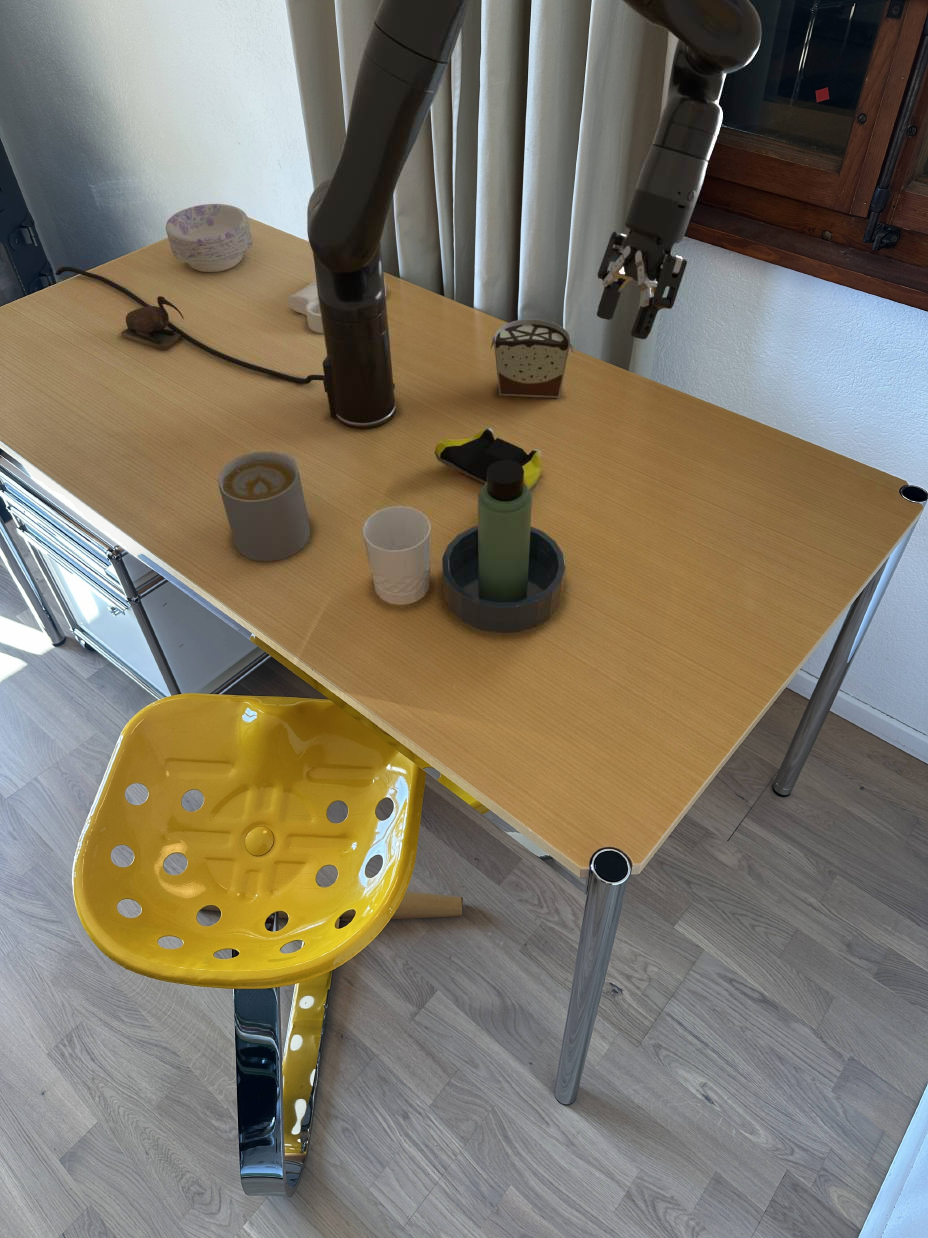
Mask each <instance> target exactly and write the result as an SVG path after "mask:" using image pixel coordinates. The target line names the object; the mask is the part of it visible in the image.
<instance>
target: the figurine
mask: <svg viewBox="0 0 928 1238" xmlns="http://www.w3.org/2000/svg"><path fill="white" fill-rule="evenodd" d="M156 301H157V305H158V306H157V305H149V306H147V307H143V306H141V307H139V308H135V309H134V310H131V311H129V312H127V314H126V315H125V324H126V327H127V328H126V329H124V330H123V331H120V334H121V336H122V337H123V338H125V339H127V340H128V339H129V340H131V341H135V342H137V343H141V344H144V345H146V346H150V347H153V348H156V349H159V350H162V351H167V350H168V349H170V348H172V347H173V346H174V345H175V344H177V343H178V342H180V341H181V340H183V337H182V336H181V334H178V333H176V332H175V331H173V330H172V329H166V327H168V326H167V325H168V323H169V322H170V318H169V317H170V316H169V313H168V311H167V310H166V308H165V306H164V305H166V306H169V307H170V308H172V309H174V310H175V311H177V313H178V314H179V315H180V317H181V318H182V320H185V317H184V316H183V314H182V312H181V311H180V310H179V308H178V307H176V305H174V304H173V303H171V302H170V301H169V300H167V299H166V298H165V297H164V296H161V295H159V296H157V298H156Z"/></svg>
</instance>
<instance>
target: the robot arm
mask: <svg viewBox="0 0 928 1238" xmlns="http://www.w3.org/2000/svg"><path fill="white" fill-rule="evenodd" d="M621 1H622V2H623V3H624V4H625V5H626V6H627V7H629V8H630V10H632V11H633V12H634V13H635V14H636V15H638V17H640V18H641V19H643V20H644V21H645V22H647V23H649V24H650V25H652V26H655V27H659V28H663V29H665V30H666V31H668V32H669V33H670V34H672V35H673V36H674V37H675V38H676V39H678V40H677V42H676V46H675V50H674V54H673V59H672V63H671V69H670V76H669V81H668V84H667V85H668V87H667V93H666V94H667V95H666V100H665V101H666V102H665V105H664V108H663V110H662V112H661V116H660V118H659V122H658V125H657V129H656V131H655V134H654V137H653V139H652V145H651V146H650V148H649V150H648V151H649V152H648V153H647V156H646V158H645V160H644V162H643V165H642V168H641V171H640V173H639V176H638V179H637V183H636V186H635V189H634V191H633V194H632V198H631V201H630V204H629V207H628V210H627V213H626V216H625V220H624V226H625V227H626V228H627V229H629V232H628V233H627V234H626V233H621V232H617V231H613V232H612V233H611V235H610V237H609V240H608V243H607V246H606V249H605V252H604V255H603V258H602V260H601V262H600V265H599V269H598V271H597V278H598V280H599V279H600V280H601V281H602V286H603V290H602V294H601V296H600V300H599V303H598V306H597V311H596V316H597V317H598V318H600V319H602V320H608V321H610V320H612V319H613V317H614V315H615V311H616V308H617V305H618V302H619V299H620V297H621V293H622V292H621V290H622V289H623V288H624V287H625V286H626V285H627V283H628V282H631V281H633V280H634V281H635V282H637V287H638V289H639V290H640V291H641V305H640V306H639V309H638V312H637V314H636V317H635V320H634V324H633V326H632V328H631V331H630V335H631V336H632V337H634V338H635V339H641V340H646V339H647V338H648V337H649V335H650V333H651V332H652V329H653V325H654V323H655V322H656V321H655V320H656V317H657V315H658V313H659V311H661V310H663V309H668V310H671V309H672V308H673V307H674V305H675V301H676V299H677V296H678V293H679V289H680V286H681V284H682V280H683V277H684V274H685V270H686V267H687V265H688V259H687V258H686V257H683V256H680V255H676V254H673V249H674V245H675V244H680V243H682V241H683V240H684V237H685V234H686V233H687V232H686V231H687V229H688V226H689V223H690V221H691V217H692V215H693V212H694V210H695V207H696V204H697V201H698V198H699V196H700V192H701V190H702V186H703V184H704V180H705V176H706V171H707V168H708V164H709V161H710V158H711V155H712V152H713V150H714V147H715V144H716V141H717V139H718V135H719V134H720V129H721V127H722V123H723V117H724V116H723V110H722V107H721V106H720V104H719V102H720V98H721V95H722V91H723V87H724V83H725V79H726V76H727V74H732V73H735V72H737V71H739V70H741V69H742V68H744V67H746V65H748V64H749V63H750V62H751V61H752V60H753V58H754V57H755V55H756V53H757V52H758V50H759V49H760V48H759V47H760V45H761V42H762V41H761V40H762V22H761V18H760V16H759V13H758V11H757V10H756V7H754V5H753V4H752V2H751V1H750V0H621ZM469 3H470V0H380V2H379V5H378V8H377V10H376V13H375V15H374V18H373V21H372V24H371V27H370V31H369V33H368V36H367V38H366V41H365V45H364V48H363V51H362V54H361V57H360V58H361V59H360V61H359V66H358V69H357V74H356V78H355V83H354V88H353V92H352V97H351V101H350V102H351V103H350V109H349V114H348V121H347V125H346V132H345V138H344V143H343V146H342V150H341V154H340V156H339V159H338V162H337V165H336V167H335V170H334V172H333V174H332V176H331V177H329V178H327V179H325V180H323V181H322V182H320V183H319V184H318V185H317V186H316V187H315V189H314V190H313V191H312V193H311V195H310V197H309V199H308V203H307V209H306V211H307V212H306V218H307V219H306V226H307V227H306V228H307V229H306V231H307V238H308V243H309V247H310V249H311V251H312V256H313V260H314V261H313V262H314V273H315V281H316V282H317V293H318V300H319V306H320V312H321V319H322V325H323V332H324V333H323V339H324V344H325V351H326V356H325V357H324V359H323V361H322V370H323V374H310V375H307V377H305V378H304V377H297V376H292V375H288V374H286V373H283V372H279V371H275V370H273V369H270V368H266V367H263V366H260V365H256V364H253V363H249V362H246V361H243V360H240V359H238V358H235V357H233V356H230V355H227V354H225V353H223V352H220V351H218V350H216V349H214V348H212V347H210V346H208V345H206V344H204V343H202V342H200V341H199V340H196V339H195V338H194V337H192V336H191V335H189V334H187V333H186V332H185V331H183V330H182V329H180V328H178V326H176V325H174V324H173V323H172V322H170V321H169V323H168V325H167V326H166V327H168V328H169V330H172V331H175V333H178V334H181V336H182V339H185V340H186V341H188V342H189V343H190V344H192V345H194V346H196V347H197V348H199V349H201V350H203V351H204V352H207V353H209V354H210V355H213V356H214V357H217V358H218V359H222V360H224V361H226V362H229V363H232V364H234V365H237V366H240V367H242V368H246V369H249V370H252V371H254V372H255V371H256V372H258V373H262V374H265V375H268V376H271V377H274V378H278V379H282V380H285V381H288V382H292V383H295V384H302V385H308V384H310V383H311V381H322V383H323V388H324V392H325V393H326V396H327V402H328V408H329V414H330V418H331V419H336V420H337V421H338V422H339V423H341V424H342V425H344V426H345V427H349V428H354V429H371V428H376V427H379V426H382V425H384V424H386V423H387V422H389V421H390V420H392V419H393V417H394V416H395V414H396V411H397V403H396V397H395V389H396V385H395V383H394V376H393V375H394V374H393V365H392V355H391V344H390V343H391V342H390V341H391V340H390V332H389V329H390V328H389V320H388V309H387V294H386V295H385V286H386V282H385V283H384V278H385V275H384V265H383V256H382V244H381V243H382V242H381V240H382V237H383V234H384V233H383V232H384V228H385V225H386V221H387V219H388V218H387V217H388V214H389V210H390V207H391V204H392V200H393V197H394V194H395V190H396V187H397V185H398V182H399V179H400V176H401V173H402V171H403V169H404V166H405V164H406V162H407V160H408V158H409V156H410V154H411V152H412V150H413V148H414V146H415V144H416V142H417V139H418V137H419V135H420V133H421V131H422V128H423V126H424V124H425V121H426V120H427V117H428V114H429V112H430V110H431V107H432V105H433V103H434V100H435V99H436V97H437V94H438V93H439V92H438V91H439V89H440V87H441V84H442V81H443V79H444V76H445V74H446V71H447V69H448V66H449V64H450V61H451V59H452V56H453V53H454V50H455V47H456V45H457V42H458V40H459V36H460V32H461V29H462V26H463V24H464V21H465V17H466V13H467V10H468V7H469ZM612 262H613V264H612V265H611V266H610V264H611V263H612ZM609 267H610V270H609ZM65 272H71V273H74V274H78V275H82V276H84V277H87V278H91V279H94V280H97V281H100V282H102V283H105V284H107V285H108V286H110V287H112V288H114V289H116V290H118V291H119V292H121V293H123V294H125V295H126V296H128V297H129V298H130V299H132V300H133V301H135V302H136V303H138V304H139V305H140V306H141V307H147V306H150V304H148V303H147V302H146V301H145V300H143V299H142V298H140V297H139V296H138V295H136V294H135V293H134V292H131V291H130V290H128V289H127V288H125V287H123V286H121V285H119V284H118V283H116V282H114V281H112V280H111V279H109V278H106V277H104V276H102V275H98V274H95V273H92V272H89V271H86V270H83V269H81V268H80V269H79V268H76V267H72V266H62V267H59V268H58V269H57V270H56V272H55V276H61V275H62V274H63V273H65ZM667 287H668V291H667V294H666V296H664V295H665V292H666V289H667ZM652 293H653V296H652Z"/></svg>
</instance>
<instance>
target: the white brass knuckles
mask: <svg viewBox="0 0 928 1238" xmlns="http://www.w3.org/2000/svg"><path fill="white" fill-rule="evenodd" d="M384 283H385V284H386V279H385V277H384ZM385 295H386V296H387V288H386V285H385ZM287 304H288V306H289V307H290V308H291V309H292V310H293V311H295V312H297V313H300V314H302V315H303V316H306V319H307V324H308V328H309V329H310V330H311V331H313V332H314V333H317V334H324V332H323V325H322V319H321V312H320V306H319V300H318V293H317V282H316V280H315V281H313V282H311V283H309V284H307V286H305V287H304V288H302V289H300V290H299V291H297V292H296V293H294V294H292V295H290V296H288V297H287Z"/></svg>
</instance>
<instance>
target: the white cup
mask: <svg viewBox="0 0 928 1238" xmlns="http://www.w3.org/2000/svg"><path fill="white" fill-rule="evenodd" d="M431 528H432V527H431V522H430V519H429V518H428V516H427V515H426V514H425V513H423V512H422V511H420V510H419V509H416V508H414V507H411V506H405V505H393V506H387V507H384V508H383V507H382V508H381V509H378V510H377V511H375V512H373V513H371V514H370V515H369V516H368V517H367V519H365V521H364V523H363V525H362V536H363V541H364V545H365V551H366V556H367V562H368V565H369V570H370V574H371V577H372V580H373V585H374V591H375V593H376V594H377V595H378V597H379V598H380V600H381V601H384V602H387V603H388V604H391V605H399V606H404V605H409V604H412V603H416V602H418V601H419V600H421V599H422V598H424V597H425V596H426V594H427V592H428V591H429V589H430V573H431V561H432V560H431V559H432V558H431V557H432V552H431V551H432V548H431V547H432V546H431V545H432V543H431V542H432V541H431V540H432V539H431V535H432V533H431V532H432V531H431V530H432V529H431Z"/></svg>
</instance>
